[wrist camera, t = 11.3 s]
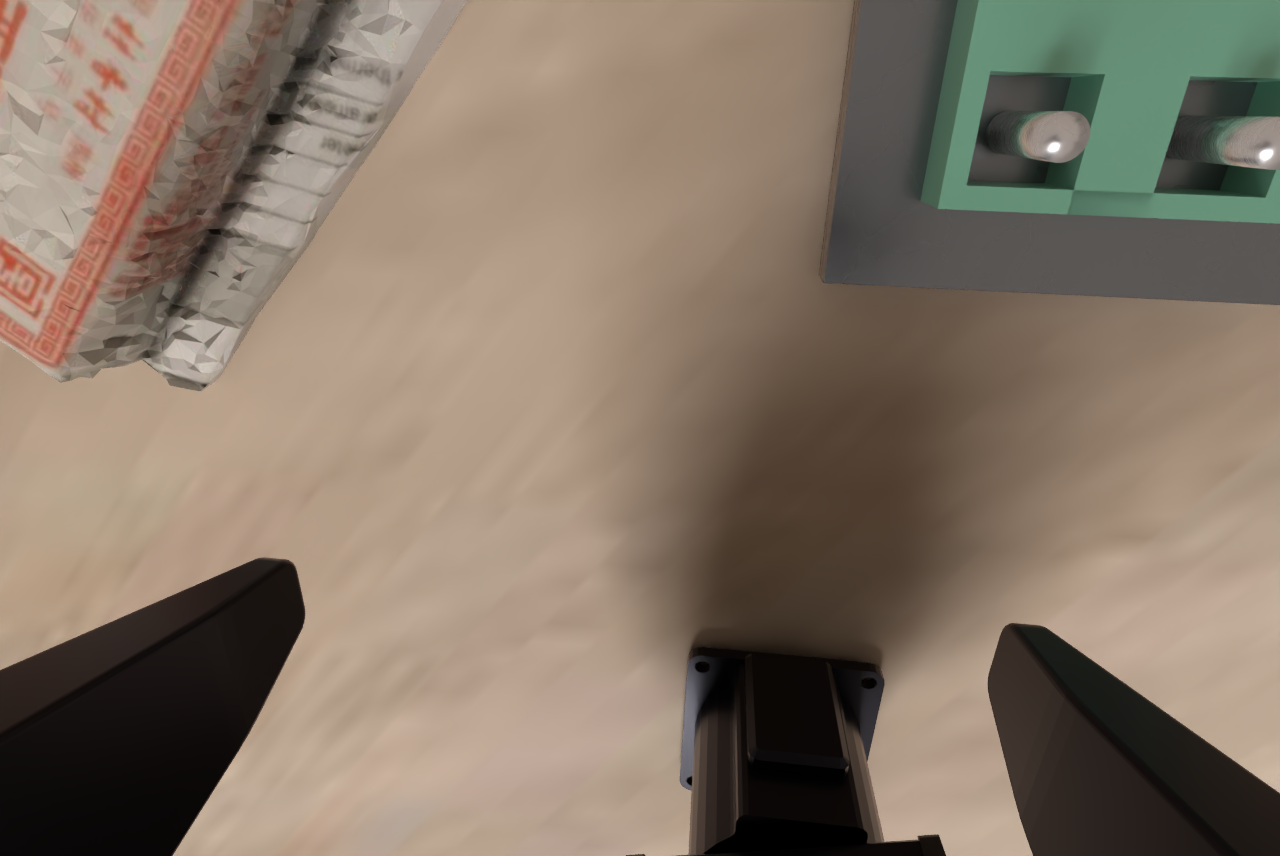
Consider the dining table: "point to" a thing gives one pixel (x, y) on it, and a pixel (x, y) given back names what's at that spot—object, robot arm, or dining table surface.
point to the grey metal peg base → (1021, 152)
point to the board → (1108, 101)
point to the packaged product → (181, 163)
